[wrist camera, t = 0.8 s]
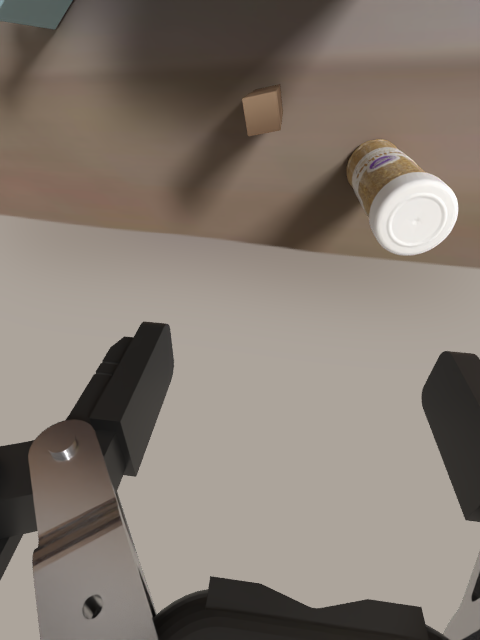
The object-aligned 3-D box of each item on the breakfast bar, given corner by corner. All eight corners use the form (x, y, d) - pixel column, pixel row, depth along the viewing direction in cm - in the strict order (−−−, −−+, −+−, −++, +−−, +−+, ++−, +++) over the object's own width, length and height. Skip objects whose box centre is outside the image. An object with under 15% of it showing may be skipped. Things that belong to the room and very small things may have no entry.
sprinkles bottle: (381, 125, 29) (436, 160, 18) (409, 169, 30) (476, 225, 20) (334, 165, 31) (359, 218, 20) (363, 204, 33) (400, 272, 22)
